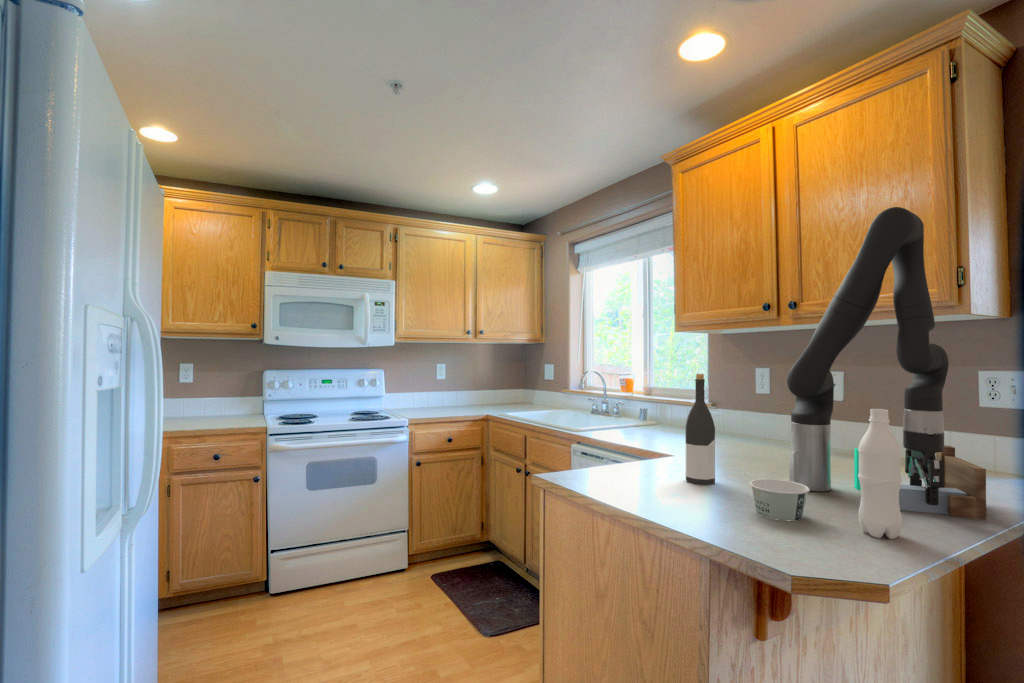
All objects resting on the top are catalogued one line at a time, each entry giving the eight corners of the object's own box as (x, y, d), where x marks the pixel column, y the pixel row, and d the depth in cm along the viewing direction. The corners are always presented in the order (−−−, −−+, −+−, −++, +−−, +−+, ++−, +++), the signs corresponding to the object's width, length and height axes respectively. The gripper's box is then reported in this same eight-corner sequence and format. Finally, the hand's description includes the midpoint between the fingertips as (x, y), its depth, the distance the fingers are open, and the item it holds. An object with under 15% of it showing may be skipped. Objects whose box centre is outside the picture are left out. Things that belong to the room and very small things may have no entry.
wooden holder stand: (951, 516, 117) (950, 458, 117) (917, 495, 134) (917, 444, 134) (989, 520, 115) (988, 460, 115) (949, 497, 132) (949, 445, 132)
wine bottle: (690, 476, 153) (689, 372, 153) (719, 480, 148) (718, 373, 149) (680, 482, 147) (680, 374, 147) (711, 487, 142) (710, 374, 142)
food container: (737, 510, 122) (737, 481, 122) (775, 504, 127) (775, 476, 127) (783, 526, 111) (782, 495, 111) (822, 519, 116) (822, 489, 116)
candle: (878, 487, 142) (878, 442, 142) (883, 493, 136) (883, 446, 136) (852, 485, 144) (852, 441, 144) (856, 490, 139) (856, 444, 139)
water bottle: (903, 543, 101) (903, 412, 101) (858, 536, 105) (858, 410, 105) (900, 532, 107) (899, 408, 107) (858, 526, 111) (857, 406, 111)
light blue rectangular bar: (892, 509, 123) (892, 488, 123) (885, 504, 127) (885, 483, 127) (967, 515, 118) (967, 493, 118) (959, 510, 122) (958, 488, 122)
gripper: (892, 424, 131) (893, 490, 130) (916, 433, 117) (917, 506, 117) (929, 425, 128) (929, 492, 128) (957, 435, 115) (958, 510, 115)
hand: (923, 499), depth 123 cm, fingers open, 8 cm apart
